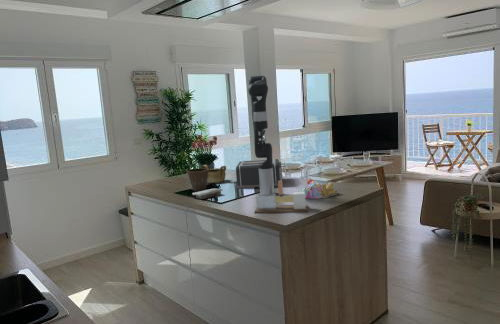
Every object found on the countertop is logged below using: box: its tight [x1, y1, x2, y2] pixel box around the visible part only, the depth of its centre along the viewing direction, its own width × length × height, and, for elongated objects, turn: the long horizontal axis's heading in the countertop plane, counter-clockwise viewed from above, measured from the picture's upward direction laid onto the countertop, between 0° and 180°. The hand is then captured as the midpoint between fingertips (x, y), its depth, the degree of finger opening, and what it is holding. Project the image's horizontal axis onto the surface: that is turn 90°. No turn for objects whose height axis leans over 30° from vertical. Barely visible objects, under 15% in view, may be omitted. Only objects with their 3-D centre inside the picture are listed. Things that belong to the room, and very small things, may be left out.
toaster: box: [235, 158, 287, 190], centre depth 294 cm, size 30×36×17 cm
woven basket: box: [201, 164, 227, 184], centre depth 312 cm, size 22×17×15 cm
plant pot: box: [186, 167, 208, 192], centre depth 285 cm, size 15×15×16 cm
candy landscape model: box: [300, 178, 338, 200], centre depth 248 cm, size 25×24×9 cm
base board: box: [254, 204, 309, 214], centre depth 217 cm, size 12×28×1 cm, turn 80°
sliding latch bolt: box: [275, 179, 294, 204], centre depth 216 cm, size 3×17×12 cm, turn 80°
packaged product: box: [192, 188, 223, 200], centre depth 263 cm, size 18×5×10 cm
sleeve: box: [256, 193, 278, 210], centre depth 218 cm, size 5×10×7 cm, turn 80°
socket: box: [292, 191, 307, 209], centre depth 215 cm, size 6×6×8 cm
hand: (262, 149), depth 220 cm, fingers open, 8 cm apart
